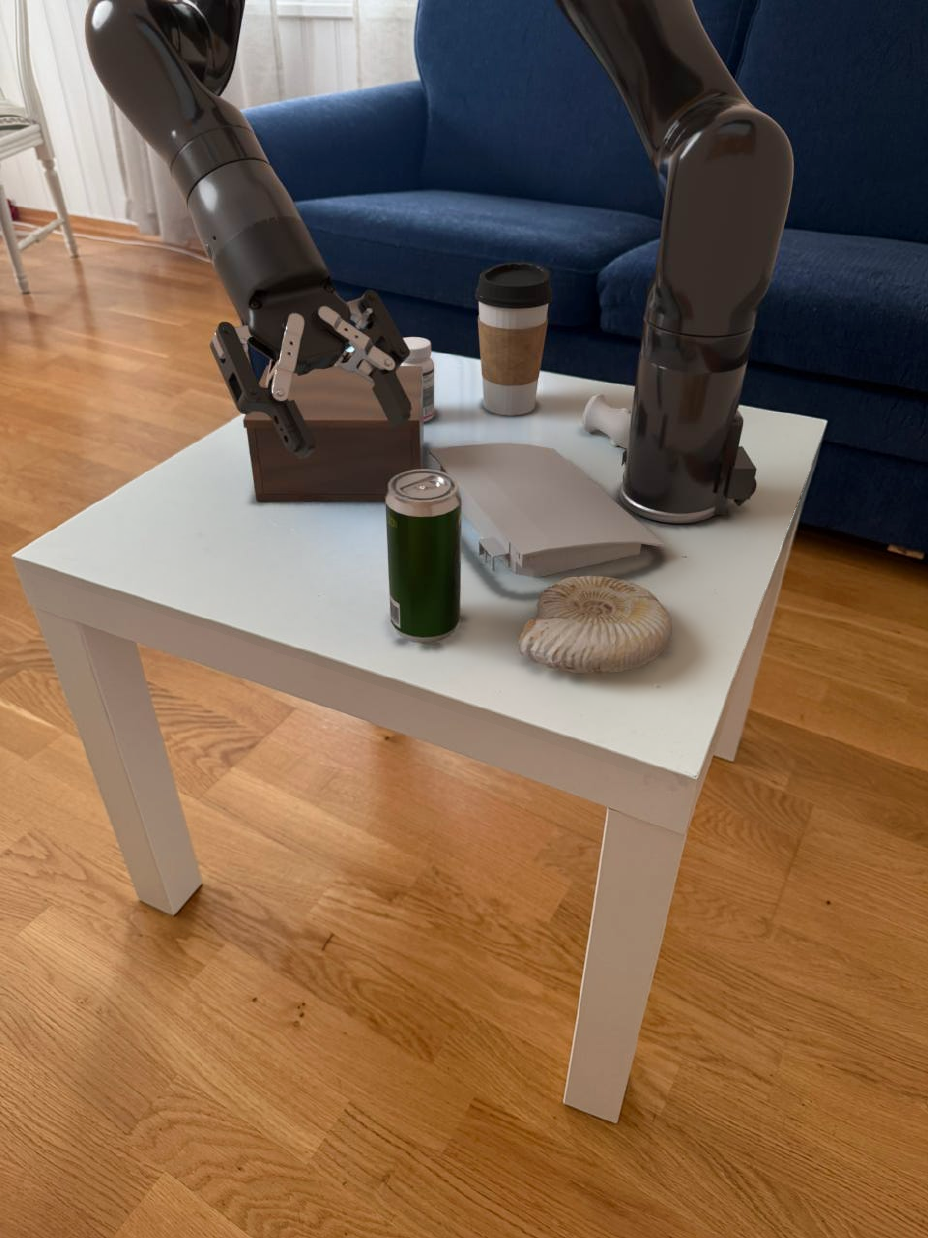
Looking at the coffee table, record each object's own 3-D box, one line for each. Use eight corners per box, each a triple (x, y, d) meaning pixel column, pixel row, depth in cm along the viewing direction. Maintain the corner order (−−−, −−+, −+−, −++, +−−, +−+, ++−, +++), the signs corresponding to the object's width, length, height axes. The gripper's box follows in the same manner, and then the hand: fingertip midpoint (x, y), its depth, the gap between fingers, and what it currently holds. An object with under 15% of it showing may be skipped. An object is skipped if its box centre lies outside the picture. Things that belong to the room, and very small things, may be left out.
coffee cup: (558, 401, 106) (568, 268, 97) (523, 426, 100) (530, 287, 92) (496, 386, 110) (500, 257, 101) (459, 409, 104) (460, 274, 95)
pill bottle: (388, 409, 104) (385, 337, 99) (428, 405, 105) (427, 333, 100) (398, 426, 100) (395, 351, 95) (439, 421, 101) (439, 347, 96)
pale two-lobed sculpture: (650, 458, 97) (616, 455, 94) (604, 430, 102) (570, 426, 99) (666, 420, 95) (632, 415, 92) (617, 393, 100) (584, 388, 97)
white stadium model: (508, 608, 73) (509, 566, 70) (409, 484, 90) (408, 448, 88) (670, 568, 78) (676, 529, 75) (547, 458, 95) (549, 423, 92)
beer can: (413, 654, 67) (409, 511, 60) (377, 618, 71) (370, 479, 64) (473, 630, 69) (476, 490, 62) (436, 597, 73) (435, 461, 66)
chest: (421, 502, 86) (420, 425, 81) (256, 501, 86) (245, 424, 81) (423, 445, 96) (422, 373, 92) (276, 444, 96) (267, 373, 91)
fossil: (657, 680, 61) (525, 611, 62) (627, 727, 64) (502, 661, 65) (692, 586, 70) (576, 528, 71) (664, 631, 73) (553, 575, 74)
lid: (419, 428, 81) (419, 420, 80) (243, 428, 80) (242, 419, 80) (422, 373, 92) (422, 365, 91) (267, 372, 91) (266, 364, 91)
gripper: (181, 227, 61) (290, 442, 60) (356, 199, 68) (454, 391, 68) (160, 290, 67) (259, 485, 67) (322, 259, 74) (411, 434, 74)
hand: (357, 437), depth 67 cm, fingers open, 8 cm apart
